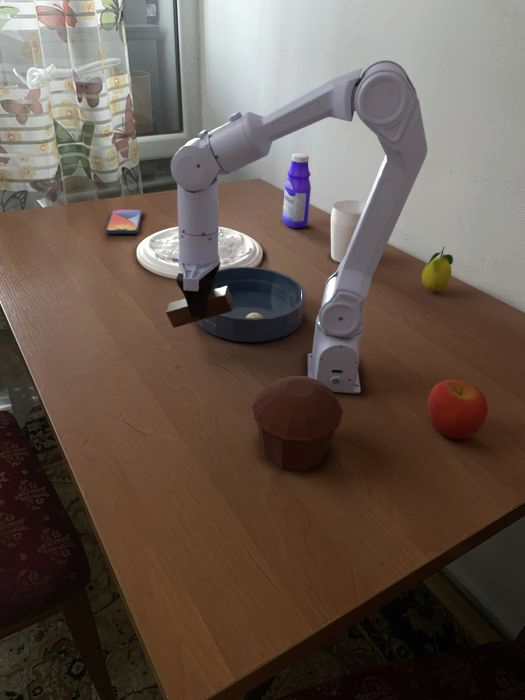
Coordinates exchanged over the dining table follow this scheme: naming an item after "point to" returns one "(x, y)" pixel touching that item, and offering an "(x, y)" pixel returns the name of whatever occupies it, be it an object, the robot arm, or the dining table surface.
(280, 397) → the muffin
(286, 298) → the bowl
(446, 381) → the apple
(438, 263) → the pear
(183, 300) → the block
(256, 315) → the dough ball
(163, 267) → the ceiling medallion
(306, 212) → the bottle
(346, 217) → the cup
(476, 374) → the dining table surface
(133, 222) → the smartphone
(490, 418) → the dining table surface
